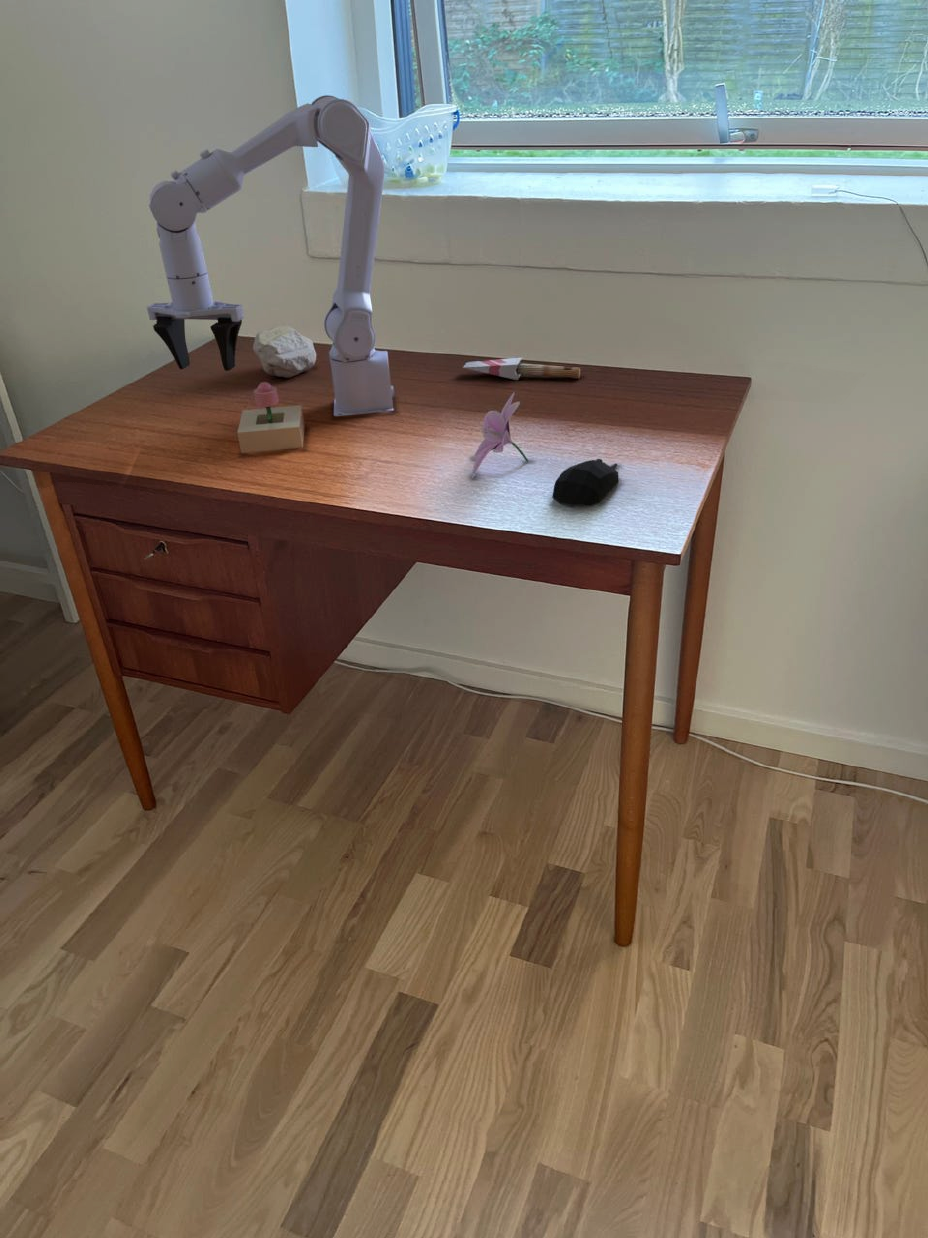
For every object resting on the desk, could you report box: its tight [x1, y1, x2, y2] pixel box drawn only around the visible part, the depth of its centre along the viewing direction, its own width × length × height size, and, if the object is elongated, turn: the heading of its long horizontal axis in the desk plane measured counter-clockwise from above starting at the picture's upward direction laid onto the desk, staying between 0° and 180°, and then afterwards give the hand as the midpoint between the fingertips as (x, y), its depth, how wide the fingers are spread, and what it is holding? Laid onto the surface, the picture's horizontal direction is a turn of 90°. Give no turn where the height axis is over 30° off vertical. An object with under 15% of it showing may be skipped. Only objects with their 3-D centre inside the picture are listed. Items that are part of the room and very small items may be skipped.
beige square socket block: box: [236, 404, 306, 454], centre depth 139 cm, size 9×9×4 cm
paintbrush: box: [462, 356, 581, 381], centre depth 158 cm, size 4×3×20 cm
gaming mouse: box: [551, 458, 620, 508], centre depth 120 cm, size 6×15×4 cm, turn 147°
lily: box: [471, 391, 529, 479], centre depth 127 cm, size 12×12×10 cm
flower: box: [253, 381, 280, 423], centre depth 137 cm, size 3×4×9 cm
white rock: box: [252, 324, 317, 379], centre depth 165 cm, size 12×8×10 cm
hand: (207, 367), depth 139 cm, fingers open, 7 cm apart
